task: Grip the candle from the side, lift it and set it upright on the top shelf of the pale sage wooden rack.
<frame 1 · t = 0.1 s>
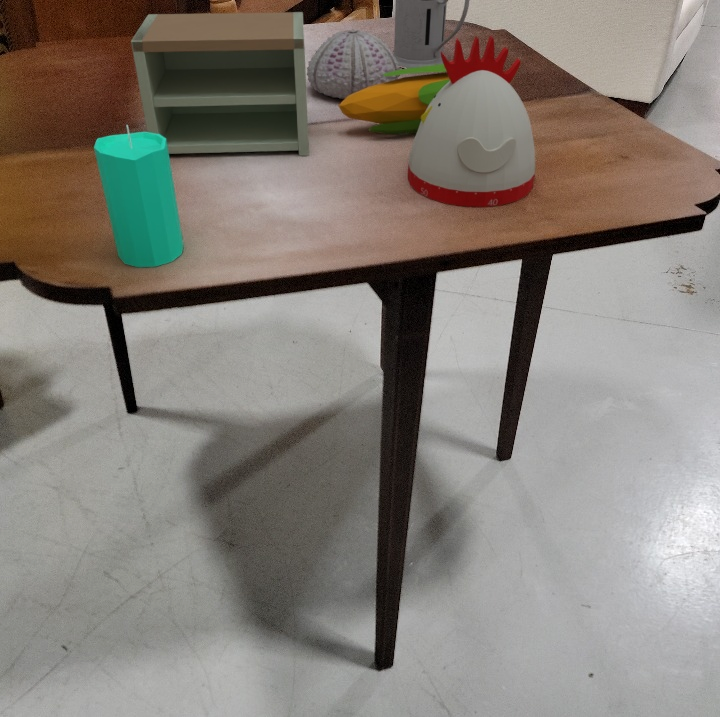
sea urchin shell: (352, 91, 106), on the table
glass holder: (429, 67, 116), on the table
corn: (415, 130, 94), on the table
candle: (151, 253, 69), on the table
kitchen timer: (469, 180, 82), on the table
rack: (234, 138, 91), on the table
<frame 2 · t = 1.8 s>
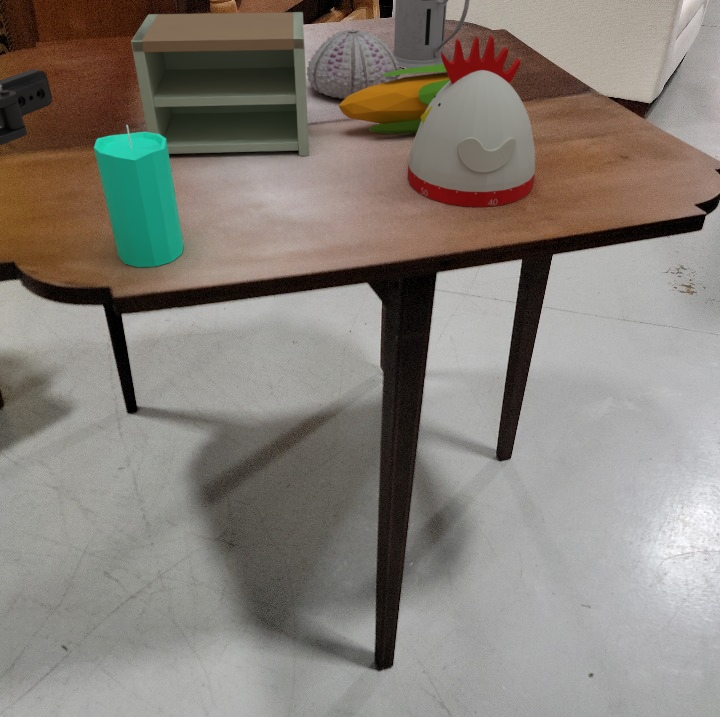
nothing on the table moved.
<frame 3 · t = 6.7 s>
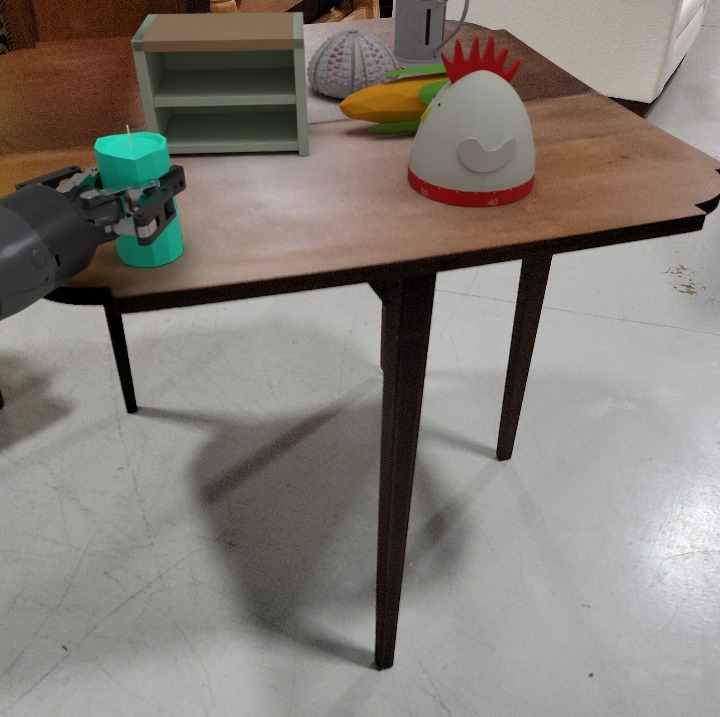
hand: (157, 170, 66), 7 cm above the table, tool horizontal, fingers closed on candle, 4 cm apart
candle: (152, 253, 69), on the table, touching gripper
everything else where it was.
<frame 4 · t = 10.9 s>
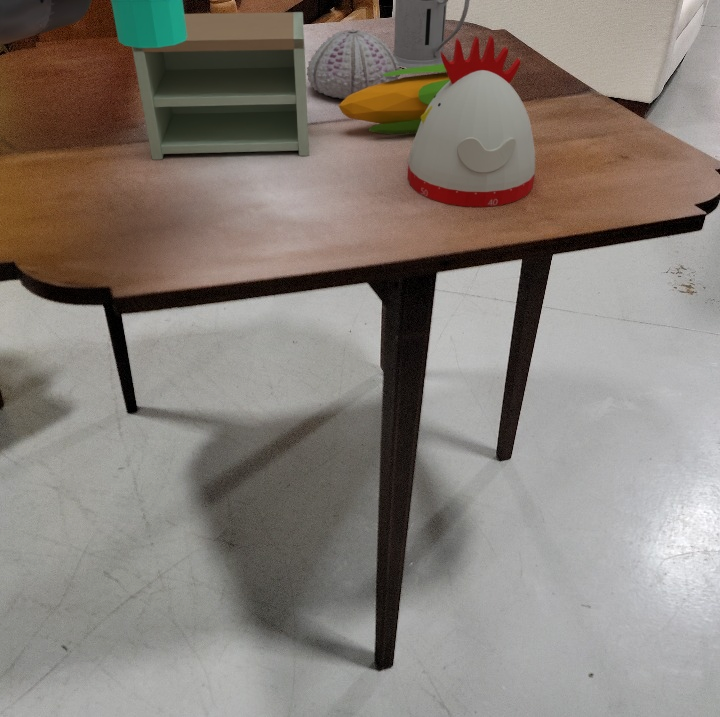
candle: (153, 41, 65), point 16 cm above the table, touching gripper
everything else where it was.
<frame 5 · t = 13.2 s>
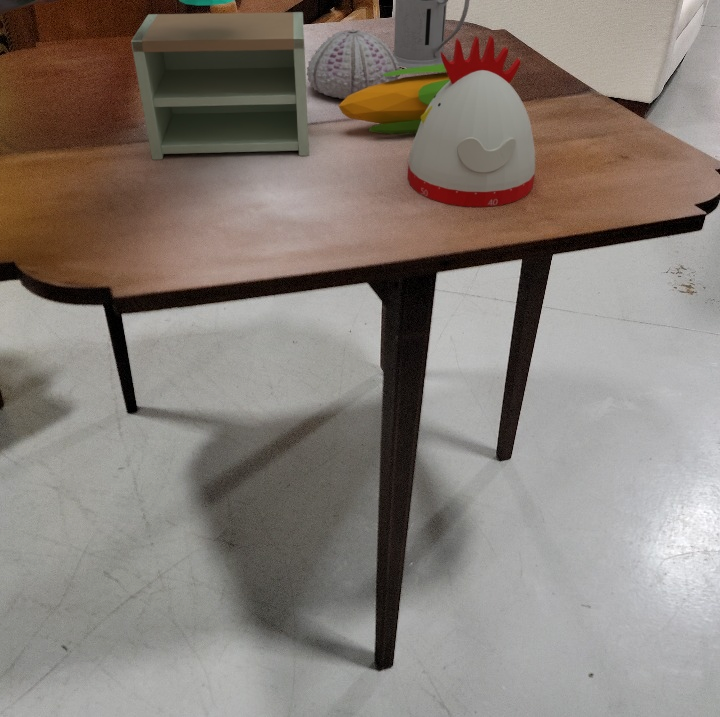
candle: (208, 1, 78), point 17 cm above the table, touching gripper
everything else where it was.
when the fingers open (20 cm above the table, at t = 15.2 s): candle stays where it is, resting on rack.
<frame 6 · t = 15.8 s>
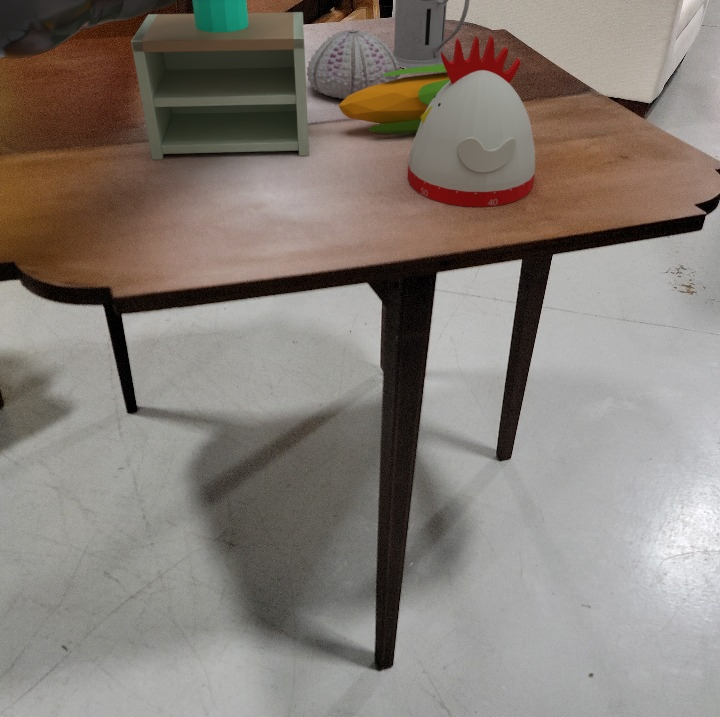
candle: (222, 27, 83), point 13 cm above the table, touching rack
everything else where it was.
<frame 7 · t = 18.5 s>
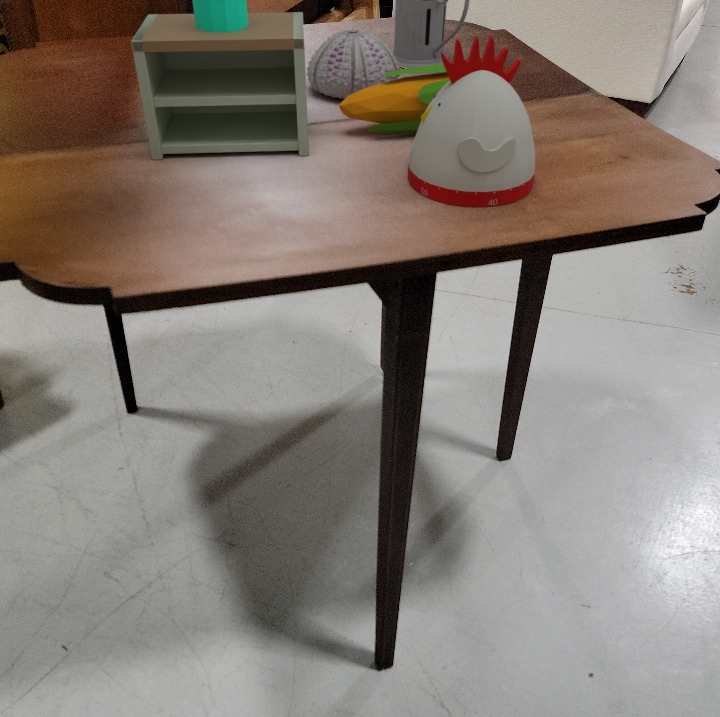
nothing on the table moved.
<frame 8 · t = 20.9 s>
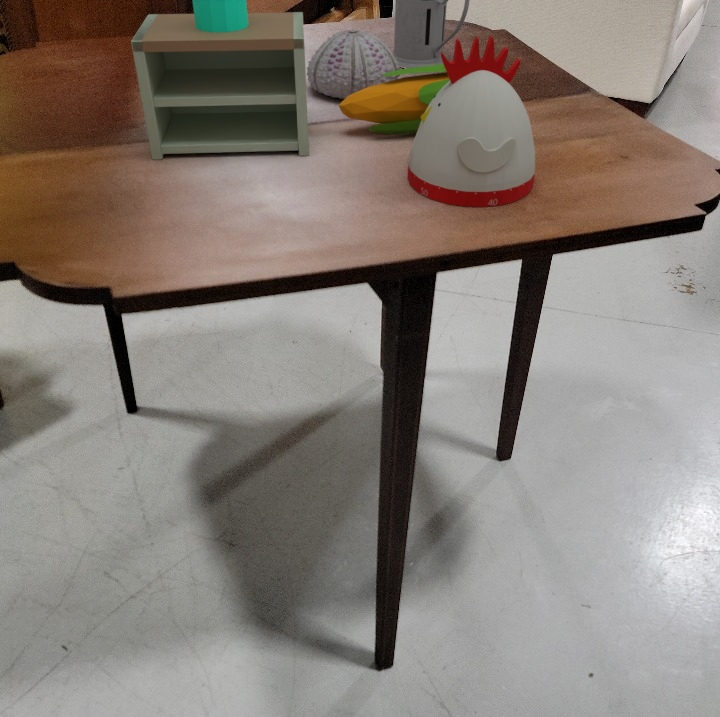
nothing on the table moved.
at the end: candle inside the target area on the rack (0.1 cm from its centre), point 13.0 cm above the rack's base; candle tilted 0°; the gripper is holding nothing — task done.
